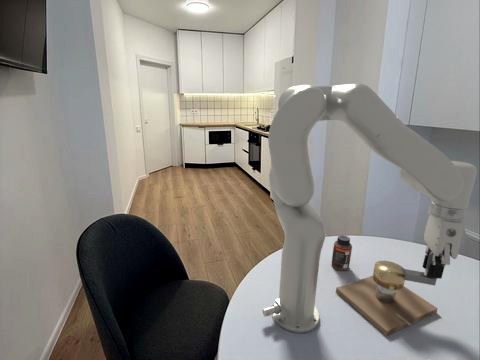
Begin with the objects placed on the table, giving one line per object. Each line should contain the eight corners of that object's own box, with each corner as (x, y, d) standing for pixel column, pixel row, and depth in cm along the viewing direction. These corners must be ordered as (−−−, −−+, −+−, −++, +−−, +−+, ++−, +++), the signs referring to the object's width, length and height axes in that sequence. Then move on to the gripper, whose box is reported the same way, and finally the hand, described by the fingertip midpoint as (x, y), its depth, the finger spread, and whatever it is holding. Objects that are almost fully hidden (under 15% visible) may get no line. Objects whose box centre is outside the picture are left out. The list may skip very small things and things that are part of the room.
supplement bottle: (350, 272, 96) (354, 243, 93) (332, 270, 97) (335, 241, 94) (347, 262, 102) (351, 234, 99) (330, 260, 103) (333, 232, 100)
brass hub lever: (374, 288, 77) (381, 253, 74) (370, 268, 86) (376, 235, 83) (440, 301, 72) (450, 264, 69) (428, 278, 82) (436, 244, 78)
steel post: (385, 305, 79) (389, 289, 77) (371, 294, 83) (374, 278, 82) (398, 300, 81) (401, 284, 79) (383, 290, 85) (386, 274, 84)
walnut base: (389, 339, 70) (390, 333, 69) (335, 291, 87) (336, 287, 86) (440, 315, 78) (441, 310, 77) (382, 276, 94) (382, 271, 94)
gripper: (481, 226, 62) (461, 295, 68) (450, 200, 77) (436, 259, 83) (442, 221, 64) (425, 289, 70) (420, 197, 79) (407, 254, 85)
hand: (431, 272), depth 76 cm, fingers closed on brass hub lever, 3 cm apart
